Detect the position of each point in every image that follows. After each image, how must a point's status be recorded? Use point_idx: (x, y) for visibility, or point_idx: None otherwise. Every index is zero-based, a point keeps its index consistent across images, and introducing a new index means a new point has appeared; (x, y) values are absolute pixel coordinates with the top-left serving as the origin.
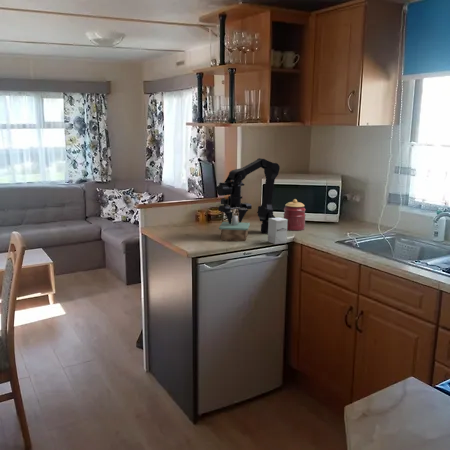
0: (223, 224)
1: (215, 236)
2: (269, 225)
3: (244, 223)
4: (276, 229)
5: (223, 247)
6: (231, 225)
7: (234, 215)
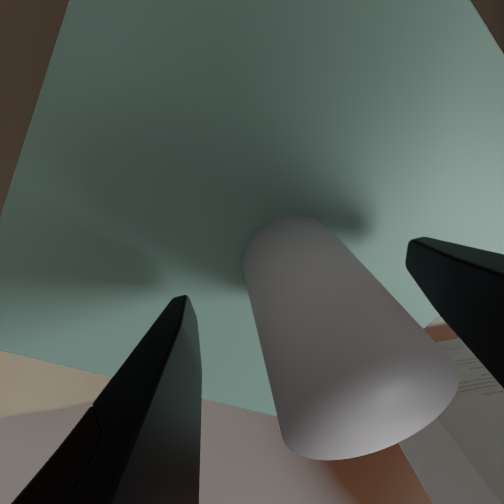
0: (94, 146)
1: (41, 27)
2: (464, 476)
3: (489, 205)
4: (430, 493)
5: (60, 405)
6: (222, 274)
7: (402, 369)
